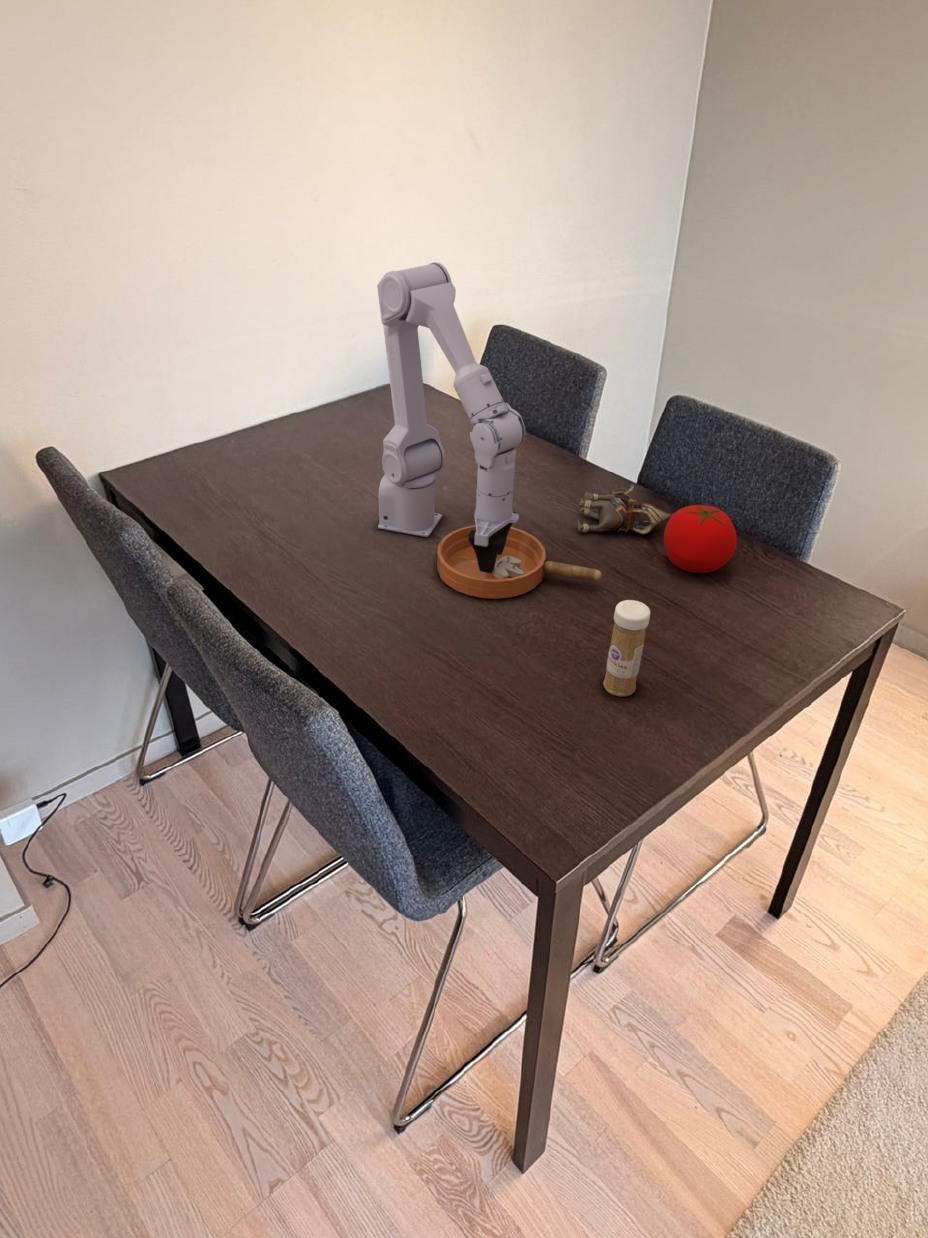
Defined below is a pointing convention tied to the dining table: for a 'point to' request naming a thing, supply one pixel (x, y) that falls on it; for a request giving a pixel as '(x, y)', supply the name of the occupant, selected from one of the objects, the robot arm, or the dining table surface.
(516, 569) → the game controller
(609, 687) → the sprinkles bottle
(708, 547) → the tomato
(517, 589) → the pan
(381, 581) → the dining table surface
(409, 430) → the robot arm
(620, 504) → the figurine
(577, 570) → the pan handle
